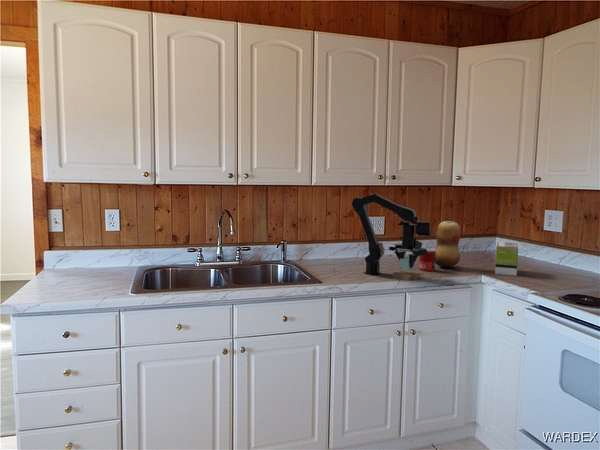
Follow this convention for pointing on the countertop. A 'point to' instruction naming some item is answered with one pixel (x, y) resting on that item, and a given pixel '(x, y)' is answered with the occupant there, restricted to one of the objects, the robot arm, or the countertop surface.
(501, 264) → the tea box
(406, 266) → the teal block
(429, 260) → the canned food
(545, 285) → the countertop surface
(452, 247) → the butternut squash
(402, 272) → the walnut base
